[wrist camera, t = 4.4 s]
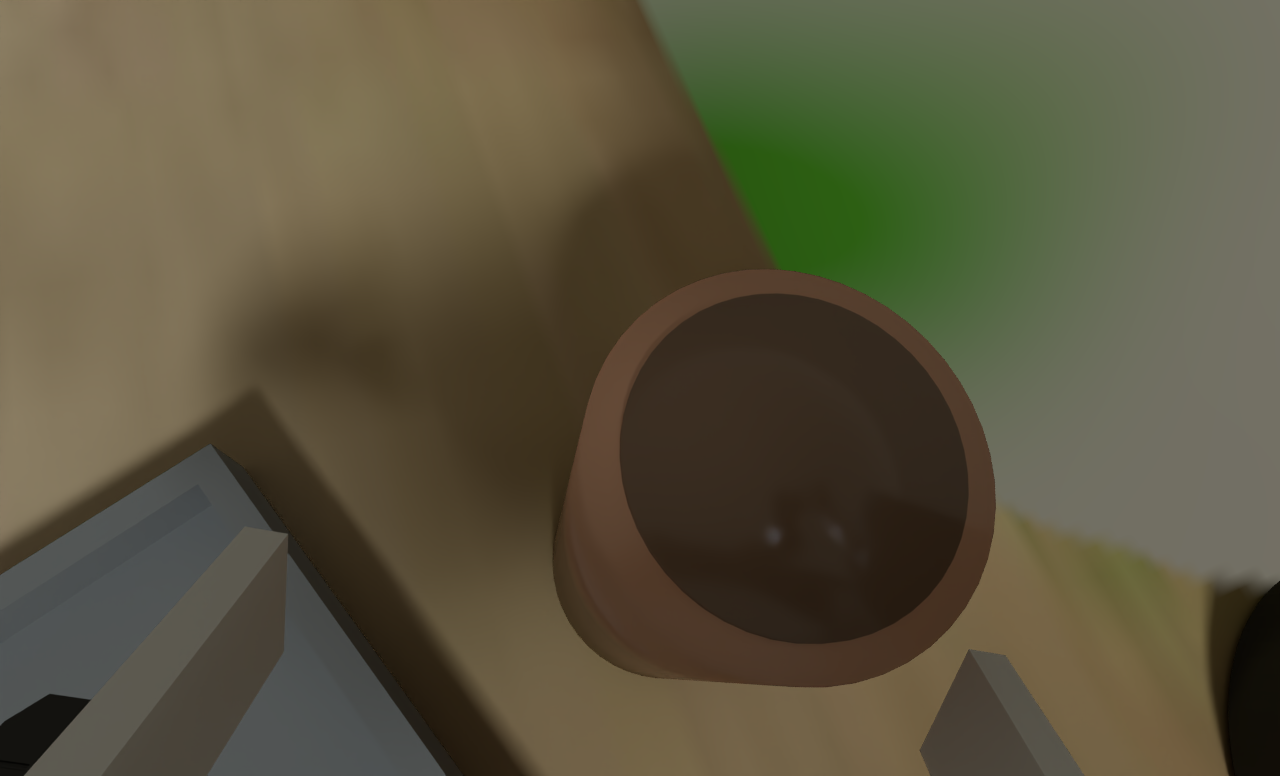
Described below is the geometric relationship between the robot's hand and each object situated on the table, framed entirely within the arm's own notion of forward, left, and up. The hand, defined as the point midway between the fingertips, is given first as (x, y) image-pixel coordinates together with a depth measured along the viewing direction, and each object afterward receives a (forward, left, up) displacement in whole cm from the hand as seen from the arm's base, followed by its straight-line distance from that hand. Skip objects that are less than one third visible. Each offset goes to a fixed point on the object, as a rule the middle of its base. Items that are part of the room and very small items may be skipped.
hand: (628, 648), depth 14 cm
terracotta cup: (+1, -4, -8) cm, 9 cm away
